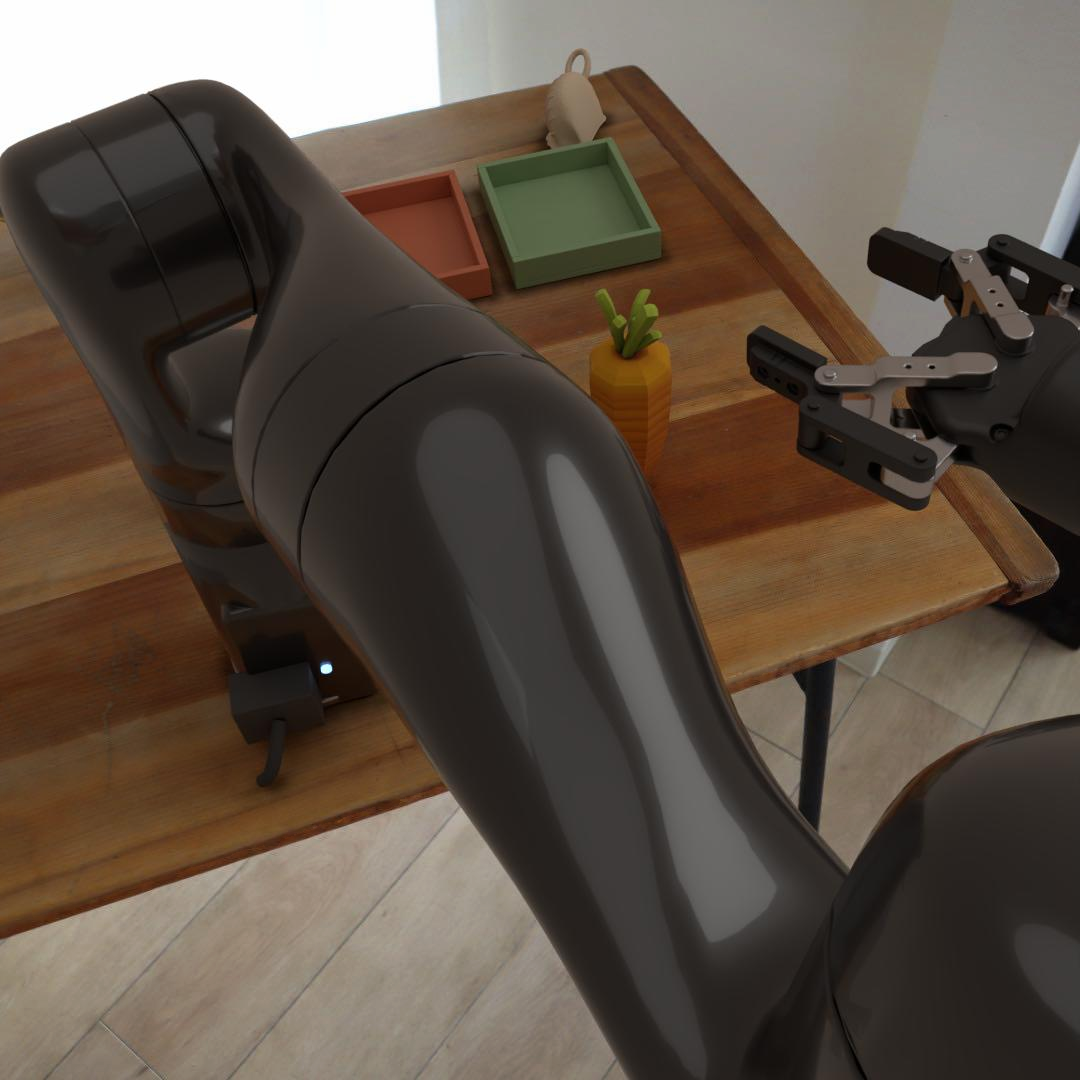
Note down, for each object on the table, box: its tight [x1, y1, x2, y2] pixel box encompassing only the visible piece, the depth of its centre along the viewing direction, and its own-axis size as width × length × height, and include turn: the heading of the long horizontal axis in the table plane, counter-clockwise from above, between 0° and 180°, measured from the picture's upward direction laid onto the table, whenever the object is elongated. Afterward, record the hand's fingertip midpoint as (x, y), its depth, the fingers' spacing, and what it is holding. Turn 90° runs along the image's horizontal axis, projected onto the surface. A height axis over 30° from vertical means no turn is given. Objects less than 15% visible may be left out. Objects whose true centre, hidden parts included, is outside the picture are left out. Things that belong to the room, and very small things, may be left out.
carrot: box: [588, 288, 673, 480], centre depth 68 cm, size 5×5×15 cm
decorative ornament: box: [544, 47, 607, 149], centre depth 98 cm, size 4×8×5 cm, turn 158°
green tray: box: [476, 136, 662, 290], centre depth 91 cm, size 13×11×2 cm
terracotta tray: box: [341, 169, 493, 301], centre depth 90 cm, size 13×10×2 cm
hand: (813, 295), depth 53 cm, fingers open, 8 cm apart
